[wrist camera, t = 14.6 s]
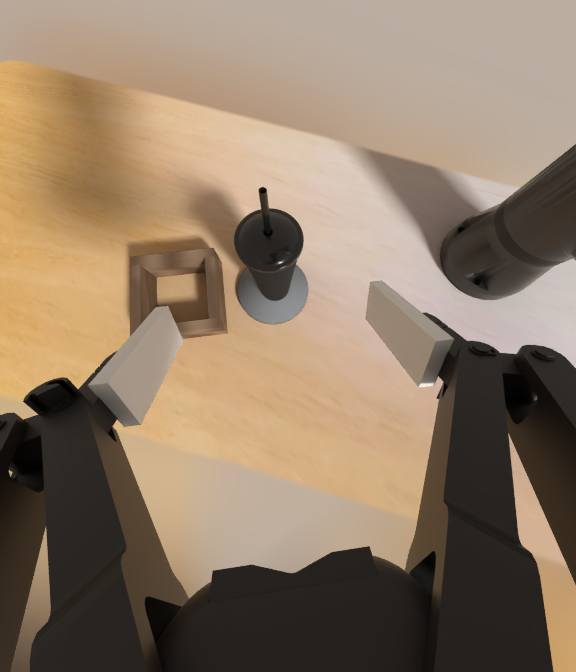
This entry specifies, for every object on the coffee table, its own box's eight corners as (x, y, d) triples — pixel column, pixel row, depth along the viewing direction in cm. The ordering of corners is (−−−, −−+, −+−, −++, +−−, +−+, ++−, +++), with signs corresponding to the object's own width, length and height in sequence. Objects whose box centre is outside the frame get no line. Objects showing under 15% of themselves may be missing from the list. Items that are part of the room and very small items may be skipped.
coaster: (302, 255, 40) (302, 253, 39) (312, 319, 37) (313, 318, 37) (235, 263, 39) (234, 260, 38) (242, 328, 37) (241, 327, 36)
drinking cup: (265, 317, 37) (241, 248, 17) (245, 279, 38) (200, 173, 18) (305, 296, 37) (326, 207, 18) (284, 259, 39) (282, 138, 19)
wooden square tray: (221, 262, 39) (213, 247, 35) (227, 333, 37) (219, 327, 32) (147, 270, 39) (129, 257, 34) (149, 342, 36) (130, 338, 32)
